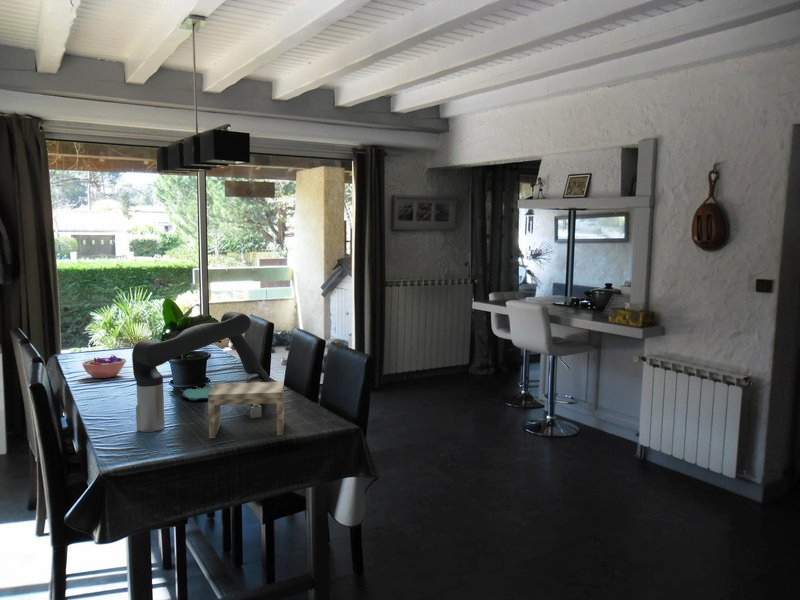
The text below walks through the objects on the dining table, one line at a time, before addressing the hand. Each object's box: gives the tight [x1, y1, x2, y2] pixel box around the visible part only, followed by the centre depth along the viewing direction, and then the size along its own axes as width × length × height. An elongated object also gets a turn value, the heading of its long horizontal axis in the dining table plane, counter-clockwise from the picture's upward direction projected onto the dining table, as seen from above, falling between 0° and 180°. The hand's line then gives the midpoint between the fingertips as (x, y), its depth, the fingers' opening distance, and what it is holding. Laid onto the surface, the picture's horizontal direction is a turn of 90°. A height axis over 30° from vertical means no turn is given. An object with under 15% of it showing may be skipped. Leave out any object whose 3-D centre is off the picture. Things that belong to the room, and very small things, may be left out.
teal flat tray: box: [180, 383, 213, 401], centre depth 281 cm, size 20×30×2 cm, turn 31°
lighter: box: [244, 404, 262, 419], centre depth 245 cm, size 7×2×8 cm, turn 128°
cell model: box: [81, 354, 127, 379], centre depth 310 cm, size 17×20×11 cm
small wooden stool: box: [207, 381, 285, 439], centre depth 229 cm, size 26×16×16 cm, turn 99°
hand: (251, 401), depth 244 cm, fingers open, 8 cm apart
